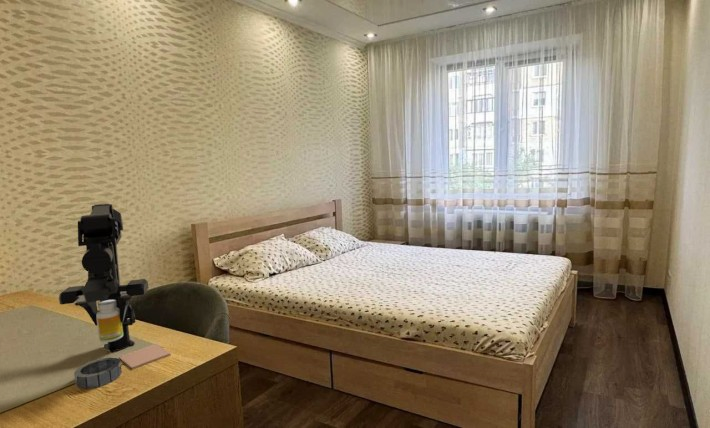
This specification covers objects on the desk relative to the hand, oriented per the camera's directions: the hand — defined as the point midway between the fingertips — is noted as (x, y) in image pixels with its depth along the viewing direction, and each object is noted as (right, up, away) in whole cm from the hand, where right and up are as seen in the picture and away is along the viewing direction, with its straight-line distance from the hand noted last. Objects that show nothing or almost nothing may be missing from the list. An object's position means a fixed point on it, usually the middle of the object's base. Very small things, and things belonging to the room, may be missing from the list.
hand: (109, 323), depth 105 cm
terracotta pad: (+5, -12, +9) cm, 15 cm away
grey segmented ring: (-1, -13, -2) cm, 13 cm away
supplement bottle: (0, -4, +1) cm, 4 cm away
